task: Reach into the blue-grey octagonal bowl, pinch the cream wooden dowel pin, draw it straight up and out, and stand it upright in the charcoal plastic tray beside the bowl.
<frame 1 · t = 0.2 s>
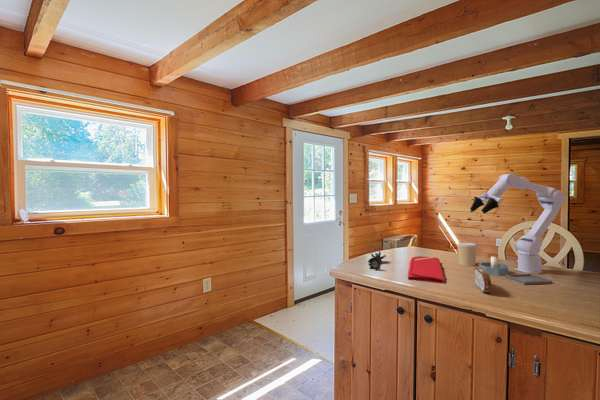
hand: (477, 211, 151), 31 cm above the worktop, tool tilted 45°, fingers open, 7 cm apart
artificial flower: (376, 265, 169), on the worktop
blue-grey octagonal bowl: (493, 273, 152), on the worktop
tray: (527, 281, 139), on the worktop
tin: (482, 290, 128), on the worktop
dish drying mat: (425, 271, 158), on the worktop
dowel pin: (493, 271, 152), point 1 cm above the worktop, touching blue-grey octagonal bowl
coffee cup: (466, 265, 168), on the worktop
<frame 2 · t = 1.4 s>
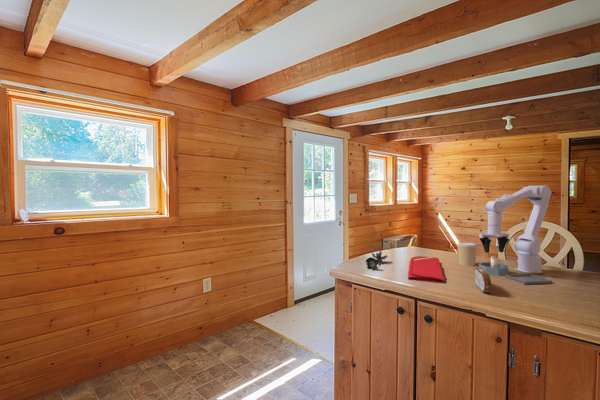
hand: (493, 252, 152), 10 cm above the worktop, tool pointing down, fingers open, 7 cm apart
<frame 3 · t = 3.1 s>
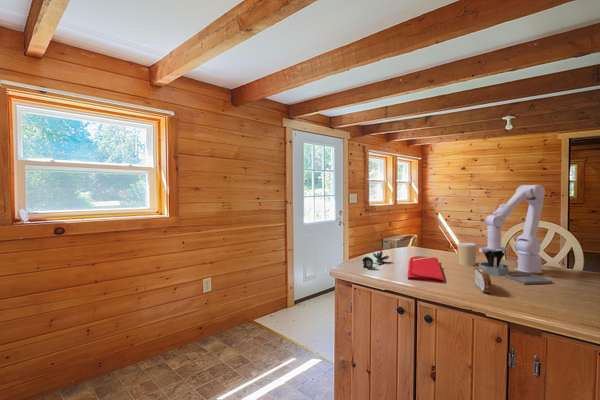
hand: (493, 266, 152), 3 cm above the worktop, tool pointing down, fingers closed on dowel pin, 2 cm apart
dowel pin: (493, 271, 152), point 1 cm above the worktop, touching blue-grey octagonal bowl, gripper
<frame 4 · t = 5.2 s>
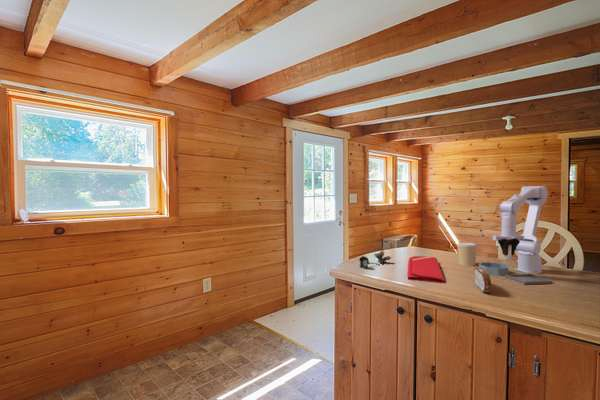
hand: (508, 254, 146), 10 cm above the worktop, tool pointing down, fingers closed on dowel pin, 2 cm apart
dowel pin: (508, 260, 146), point 8 cm above the worktop, touching gripper
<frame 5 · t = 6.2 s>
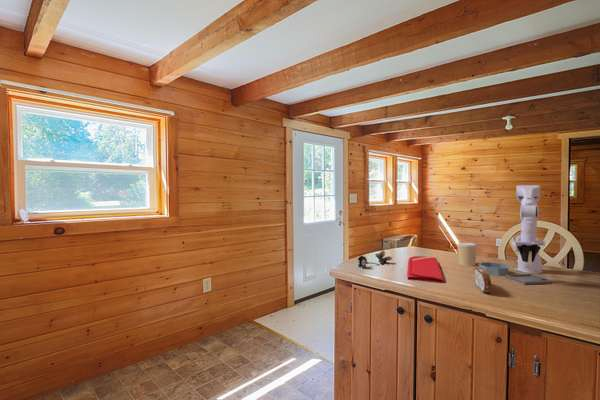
hand: (528, 261, 139), 9 cm above the worktop, tool pointing down, fingers closed on dowel pin, 2 cm apart
dowel pin: (527, 267, 139), point 6 cm above the worktop, touching gripper
when the fingers open (5 cm above the worktop, at t = 7.4 s): dowel pin stays where it is, resting on tray.
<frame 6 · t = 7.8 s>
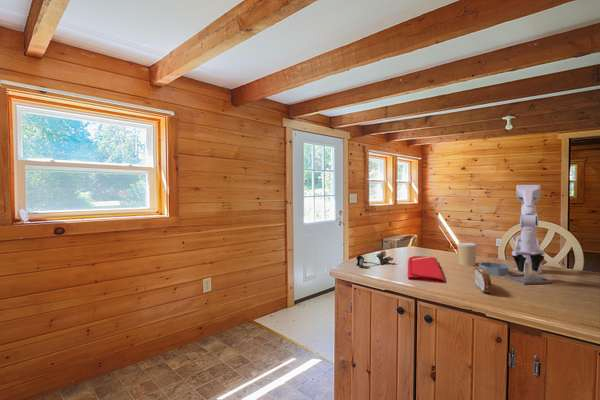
hand: (527, 271, 139), 5 cm above the worktop, tool pointing down, fingers open, 6 cm apart
dowel pin: (527, 279, 139), point 1 cm above the worktop, touching tray
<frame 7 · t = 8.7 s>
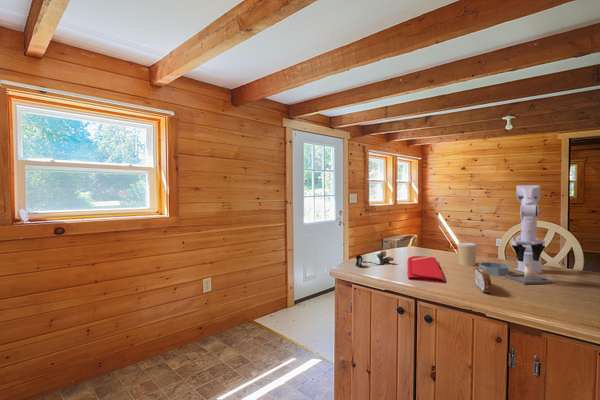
hand: (528, 260, 139), 9 cm above the worktop, tool pointing down, fingers open, 7 cm apart
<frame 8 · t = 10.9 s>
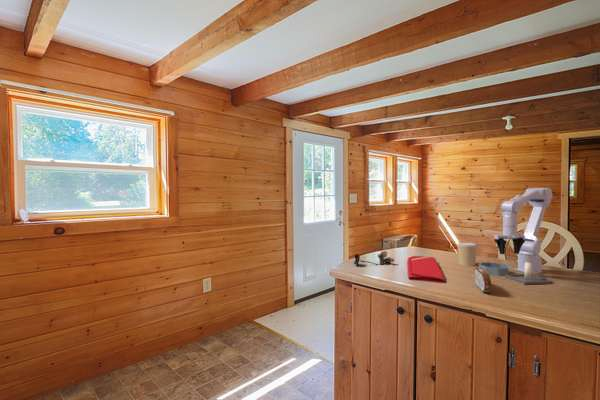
hand: (509, 253, 148), 10 cm above the worktop, tool pointing down, fingers open, 7 cm apart
at the end: dowel pin inside the target area on the tray (0.0 cm from its centre), point 0.8 cm above the tray's base; dowel pin tilted 0°; the gripper is holding nothing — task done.
